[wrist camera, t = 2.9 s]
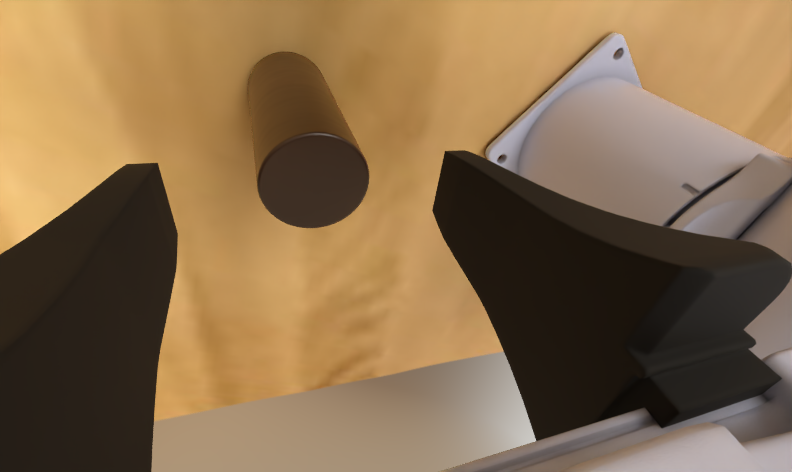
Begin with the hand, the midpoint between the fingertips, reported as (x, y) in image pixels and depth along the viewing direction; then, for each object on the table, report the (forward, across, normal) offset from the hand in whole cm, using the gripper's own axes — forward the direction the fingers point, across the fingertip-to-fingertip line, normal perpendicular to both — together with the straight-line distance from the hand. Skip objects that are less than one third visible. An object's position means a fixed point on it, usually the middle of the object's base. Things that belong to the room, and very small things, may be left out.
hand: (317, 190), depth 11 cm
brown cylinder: (+7, 0, 0) cm, 7 cm away
